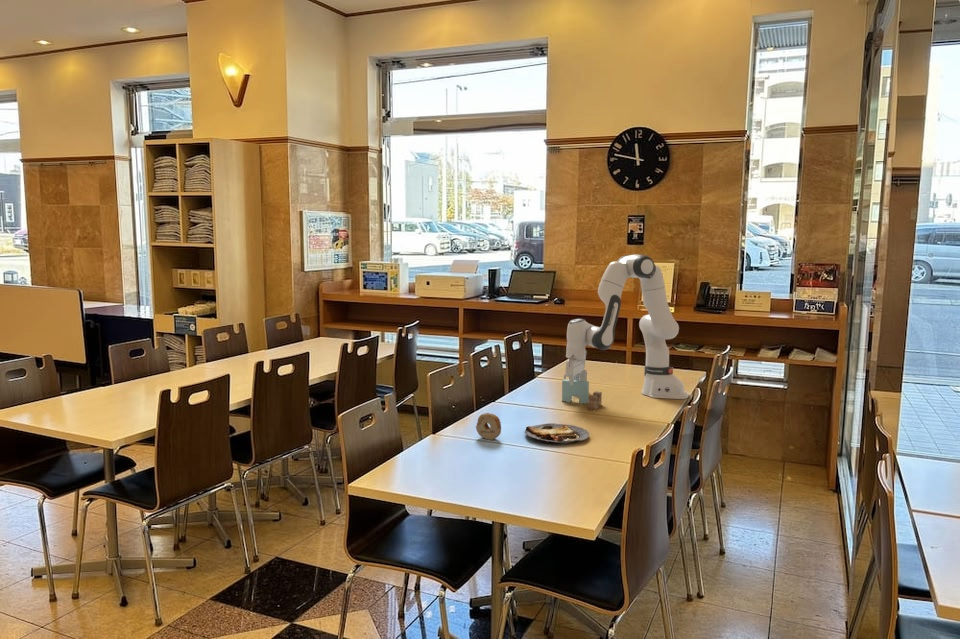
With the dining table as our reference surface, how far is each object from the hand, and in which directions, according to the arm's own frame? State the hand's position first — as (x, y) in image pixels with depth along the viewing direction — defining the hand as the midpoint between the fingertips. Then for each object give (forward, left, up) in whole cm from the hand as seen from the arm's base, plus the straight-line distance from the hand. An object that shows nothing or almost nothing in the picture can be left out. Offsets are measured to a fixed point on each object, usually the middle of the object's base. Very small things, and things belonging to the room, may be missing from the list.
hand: (574, 382), depth 324 cm
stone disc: (+14, +70, -9) cm, 72 cm away
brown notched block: (-11, +6, -9) cm, 16 cm away
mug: (+6, -20, -9) cm, 23 cm away
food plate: (-9, +57, -10) cm, 58 cm away
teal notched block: (0, 0, -9) cm, 9 cm away
